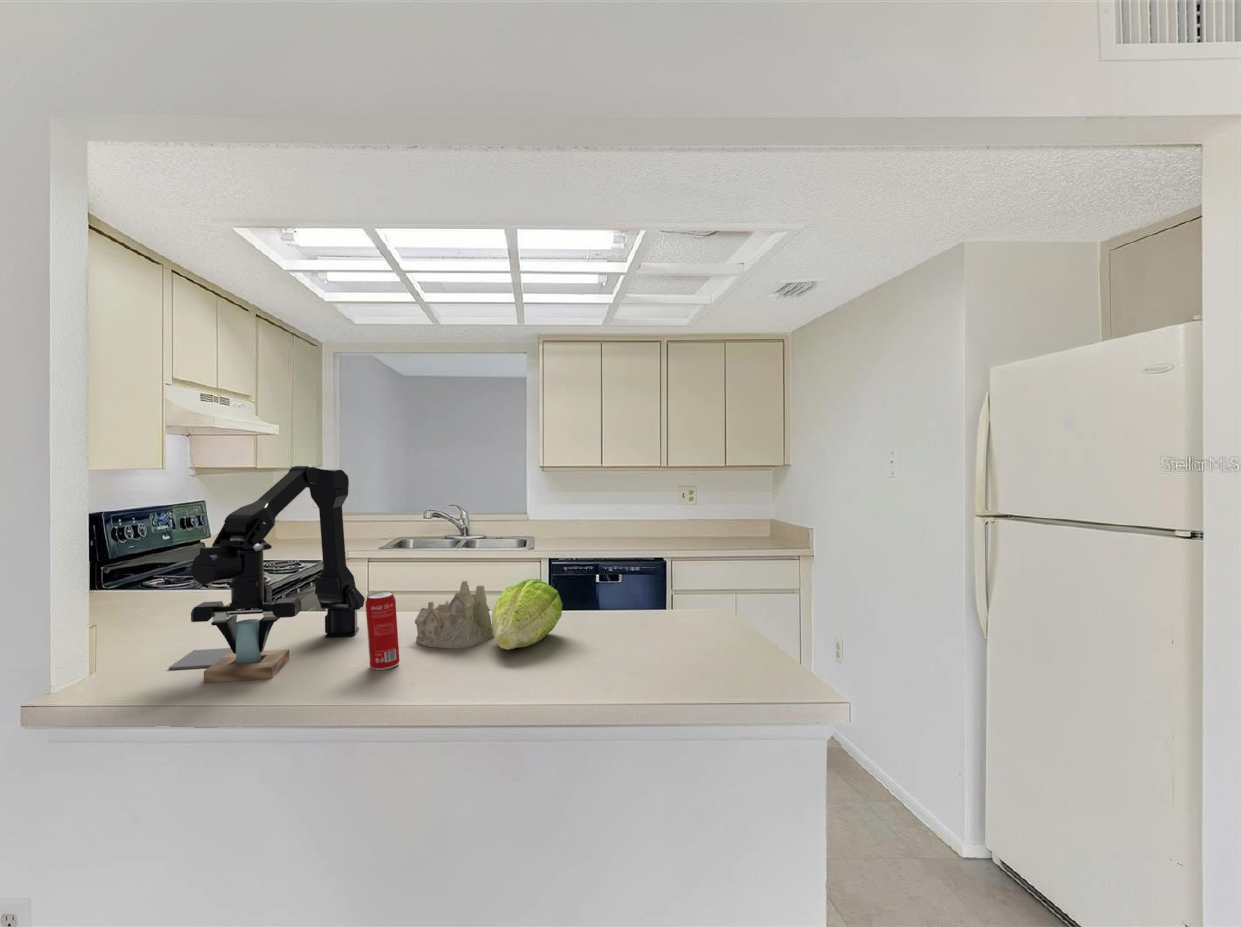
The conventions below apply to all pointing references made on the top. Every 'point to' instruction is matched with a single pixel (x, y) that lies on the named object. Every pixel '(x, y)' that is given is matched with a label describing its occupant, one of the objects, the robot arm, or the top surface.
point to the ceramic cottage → (456, 621)
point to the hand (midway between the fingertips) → (248, 652)
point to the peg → (247, 641)
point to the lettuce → (525, 613)
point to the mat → (200, 658)
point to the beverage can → (382, 630)
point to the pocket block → (246, 667)
